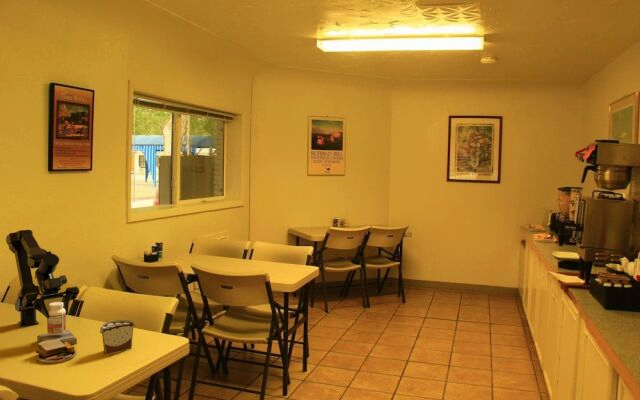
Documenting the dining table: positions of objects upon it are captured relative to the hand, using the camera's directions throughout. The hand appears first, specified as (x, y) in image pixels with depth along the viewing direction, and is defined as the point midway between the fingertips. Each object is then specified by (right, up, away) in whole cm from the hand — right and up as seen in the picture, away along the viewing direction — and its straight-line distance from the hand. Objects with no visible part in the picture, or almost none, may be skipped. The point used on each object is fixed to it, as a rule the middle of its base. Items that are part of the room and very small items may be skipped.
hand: (57, 316), depth 192 cm
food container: (+22, -11, -4) cm, 25 cm away
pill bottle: (-1, -7, +2) cm, 7 cm away
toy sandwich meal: (+5, -12, -12) cm, 18 cm away
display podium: (-1, -10, +2) cm, 10 cm away
